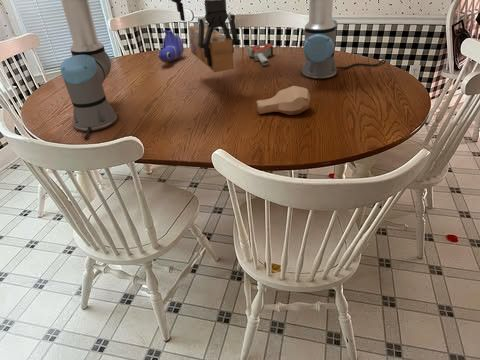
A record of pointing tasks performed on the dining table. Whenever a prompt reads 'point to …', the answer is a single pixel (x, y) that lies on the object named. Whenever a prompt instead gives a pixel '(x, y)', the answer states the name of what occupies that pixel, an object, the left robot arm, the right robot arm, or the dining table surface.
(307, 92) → the squash
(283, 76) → the dining table surface
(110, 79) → the dining table surface
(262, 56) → the tape dispenser
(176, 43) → the toy
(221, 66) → the box
